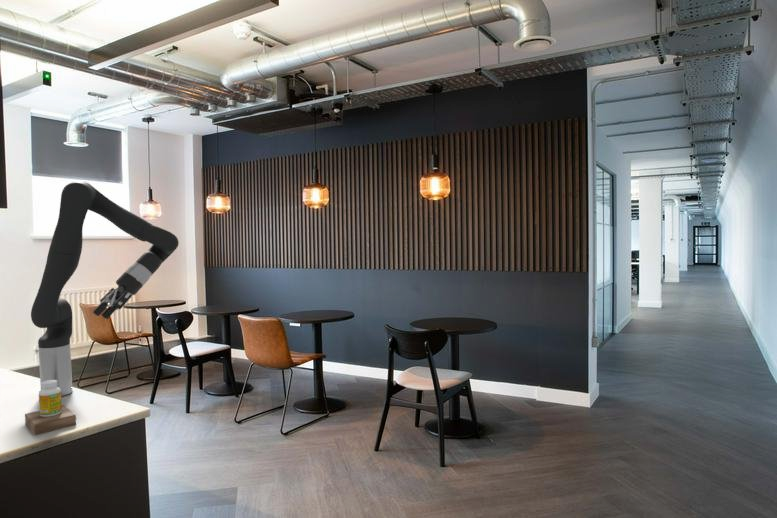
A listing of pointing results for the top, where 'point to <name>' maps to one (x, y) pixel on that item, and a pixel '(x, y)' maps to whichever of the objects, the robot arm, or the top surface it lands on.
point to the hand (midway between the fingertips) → (99, 315)
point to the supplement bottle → (50, 399)
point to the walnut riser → (50, 421)
